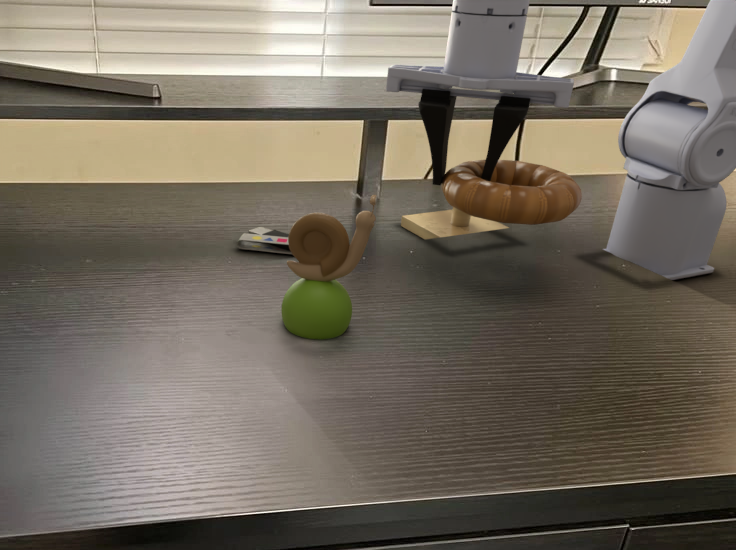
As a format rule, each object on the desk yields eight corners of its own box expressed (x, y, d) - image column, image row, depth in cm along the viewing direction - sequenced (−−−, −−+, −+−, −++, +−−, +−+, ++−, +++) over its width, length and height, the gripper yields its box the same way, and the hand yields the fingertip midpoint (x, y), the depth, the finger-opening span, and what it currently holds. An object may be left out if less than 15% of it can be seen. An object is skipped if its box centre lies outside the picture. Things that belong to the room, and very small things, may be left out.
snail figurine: (358, 363, 56) (376, 208, 50) (274, 353, 57) (281, 199, 51) (364, 331, 60) (380, 185, 54) (286, 322, 61) (293, 178, 55)
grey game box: (326, 254, 74) (326, 244, 74) (293, 268, 71) (294, 258, 70) (261, 233, 79) (261, 224, 79) (227, 245, 76) (227, 236, 75)
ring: (513, 183, 70) (519, 152, 69) (604, 220, 62) (614, 185, 60) (414, 194, 66) (419, 161, 65) (497, 236, 57) (505, 198, 56)
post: (465, 217, 86) (475, 159, 83) (518, 243, 79) (531, 181, 76) (400, 225, 83) (408, 166, 80) (449, 253, 76) (459, 189, 73)
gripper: (386, 11, 57) (368, 186, 63) (588, 22, 52) (546, 209, 59) (404, 5, 62) (386, 166, 69) (588, 15, 58) (549, 186, 65)
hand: (460, 185), depth 64 cm, fingers closed on ring, 3 cm apart
